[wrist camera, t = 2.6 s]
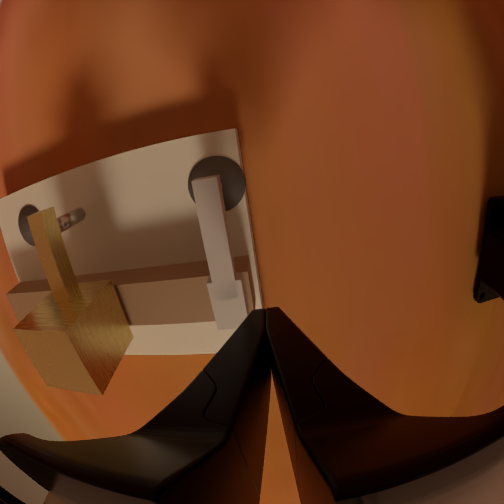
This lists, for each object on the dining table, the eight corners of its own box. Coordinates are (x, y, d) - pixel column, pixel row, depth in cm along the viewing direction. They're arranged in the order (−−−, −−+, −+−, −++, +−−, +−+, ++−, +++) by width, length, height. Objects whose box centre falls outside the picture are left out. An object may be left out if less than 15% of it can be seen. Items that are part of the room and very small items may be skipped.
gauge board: (239, 129, 11) (232, 124, 8) (269, 334, 15) (271, 379, 12) (7, 196, 12) (-31, 212, 9) (59, 339, 16) (36, 369, 13)
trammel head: (106, 187, 10) (23, 224, 6) (144, 317, 13) (102, 395, 8) (55, 201, 11) (-23, 240, 6) (95, 319, 13) (47, 385, 8)
